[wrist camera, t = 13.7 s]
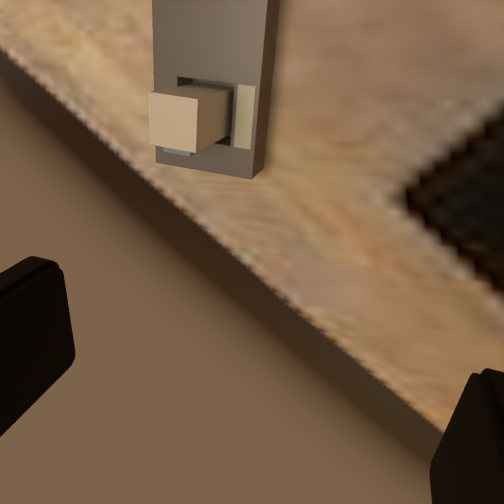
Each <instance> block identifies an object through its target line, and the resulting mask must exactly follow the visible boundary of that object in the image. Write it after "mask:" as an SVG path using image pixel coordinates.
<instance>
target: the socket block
mask: <svg viewBox="0 0 504 504" xmlns="http://www.w3.org/2000/svg"><path fill="white" fill-rule="evenodd" d="M279 2H280V0H152V15H153V57H154V91H156V90H162V89H167V88H173V87H178V86H184V85H189V84H195V83H200V82H201V83H208V84H214V85H221V86H228V87H234V98H233V114H232V130H231V134H230V135H228V136H226V137H224V138H222V139H220V140H219V141H217V142H215V143H213V144H211V145H209V146H208V147H206V148H204V149H202V150H201V151H199V152H197V153H196V154H194V155H192V156H185V155H180V154H175V153H169V152H164V151H163V147H161V146H156V163H161V164H167V165H173V166H178V167H184V168H190V169H195V170H201V171H207V172H212V173H218V174H224V175H229V176H235V177H241V178H246V179H253V178H254V177H255V176H256V175H257V174H258V173H259V172H260V171H261V170H262V169H263V161H264V151H265V141H266V131H267V121H268V111H269V101H270V91H271V81H272V71H273V61H274V52H275V42H276V32H277V22H278V12H279Z"/></svg>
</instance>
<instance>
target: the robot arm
mask: <svg viewBox="0 0 504 504" xmlns="http://www.w3.org/2000/svg"><path fill="white" fill-rule="evenodd" d="M74 359H75V347H74V340H73V333H72V327H71V320H70V313H69V307H68V300H67V293H66V287H65V280H64V274H63V271H62V270H61V269H60V268H59V265H58V264H57V263H56V262H54V261H52V260H48V259H43V258H39V257H35V256H31V257H28V258H26V259H24V260H22V261H20V262H19V263H17V264H15V265H14V266H12V267H10V268H9V269H7V270H5V271H3V272H1V273H0V437H1V436H2V435H3V434H4V433H5V432H6V431H7V430H8V429H9V428H10V427H11V426H12V425H13V424H14V423H15V422H16V421H17V420H18V419H19V417H21V416H22V415H23V414H24V412H26V411H27V410H28V409H29V408H30V407H31V406H32V405H33V403H35V402H36V401H37V400H38V399H39V398H40V397H41V396H42V395H43V393H45V392H46V391H47V389H48V388H49V387H51V386H52V384H54V383H55V382H56V381H57V379H59V378H60V377H61V376H62V375H63V374H64V373H65V372H66V371H67V370H68V369H69V367H70V366H71V365H72V363H73V361H74ZM430 485H431V495H432V504H504V372H501V371H497V370H493V369H488V368H486V369H484V370H483V371H482V372H481V374H478V373H472V374H471V376H470V377H469V379H468V382H467V384H466V386H465V388H464V391H463V393H462V395H461V397H460V399H459V402H458V404H457V406H456V408H455V410H454V413H453V415H452V417H451V419H450V422H449V424H448V426H447V428H446V430H445V433H444V435H443V437H442V439H441V441H440V444H439V446H438V448H437V450H436V453H435V455H434V457H433V459H432V462H431V467H430Z"/></svg>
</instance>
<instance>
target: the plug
mask: <svg viewBox="0 0 504 504" xmlns="http://www.w3.org/2000/svg"><path fill="white" fill-rule="evenodd" d="M233 98H234V87H228V86H221V85H214V84H208V83H201V82H200V83H195V84H189V85H184V86H178V87H173V88H167V89H162V90H156V91H151V92H149V125H150V145H155V146H161V147H163V151H164V152H169V153H175V154H180V155H185V156H192V155H194V154H196V153H197V152H199V151H201V150H202V149H204V148H206V147H208V146H209V145H211V144H213V143H215V142H217V141H219V140H220V139H222V138H224V137H226V136H228V135H230V134H231V130H232V114H233Z"/></svg>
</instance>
